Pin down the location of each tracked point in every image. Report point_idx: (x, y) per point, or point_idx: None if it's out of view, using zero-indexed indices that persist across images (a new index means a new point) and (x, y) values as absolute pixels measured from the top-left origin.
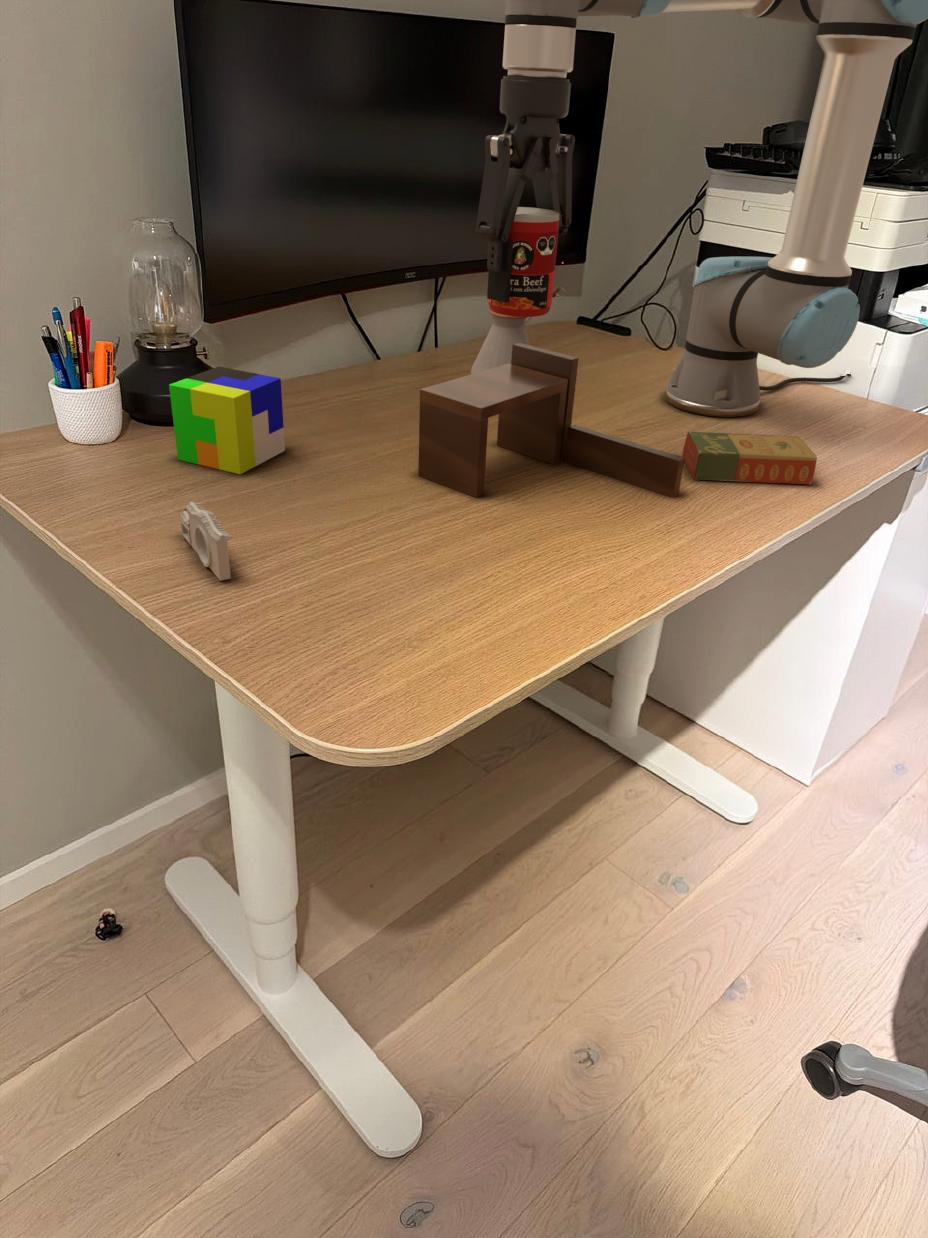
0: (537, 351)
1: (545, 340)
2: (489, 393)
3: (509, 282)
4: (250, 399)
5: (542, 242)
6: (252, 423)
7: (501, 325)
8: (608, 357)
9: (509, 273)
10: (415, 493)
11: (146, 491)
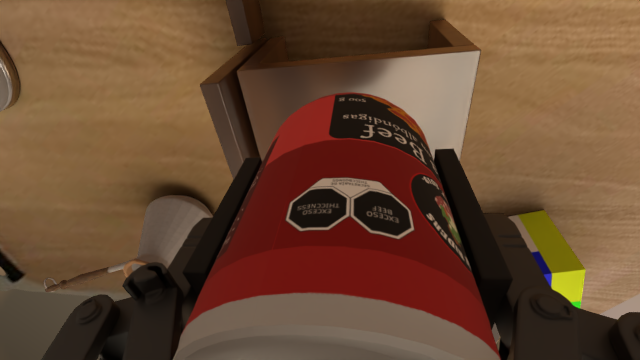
0: (240, 149)
1: (77, 264)
2: (401, 96)
3: (452, 178)
4: (548, 265)
5: (385, 217)
6: (535, 245)
7: (168, 264)
8: (31, 212)
9: (460, 196)
10: (481, 78)
11: (625, 226)
